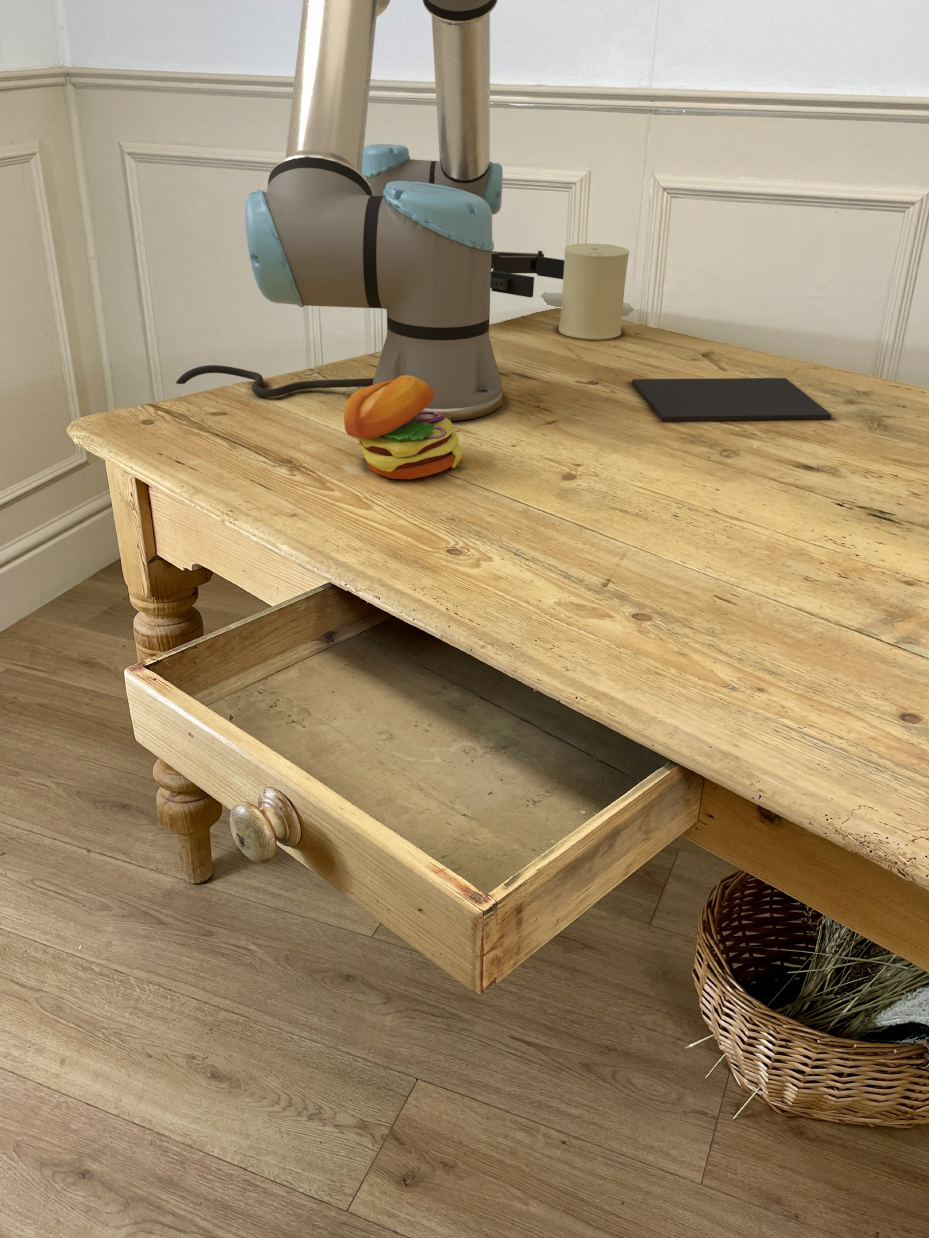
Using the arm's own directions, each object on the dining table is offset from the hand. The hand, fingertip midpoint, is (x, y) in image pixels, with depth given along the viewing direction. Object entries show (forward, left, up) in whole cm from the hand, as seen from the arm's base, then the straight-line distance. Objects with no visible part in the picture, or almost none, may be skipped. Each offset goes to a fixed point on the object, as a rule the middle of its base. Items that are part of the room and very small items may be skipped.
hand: (555, 279), depth 146 cm
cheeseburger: (-25, -55, -7) cm, 61 cm away
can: (+5, -4, -7) cm, 9 cm away
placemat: (+15, -36, -7) cm, 39 cm away
